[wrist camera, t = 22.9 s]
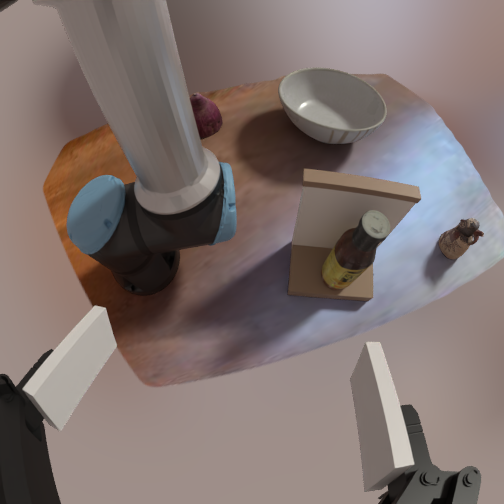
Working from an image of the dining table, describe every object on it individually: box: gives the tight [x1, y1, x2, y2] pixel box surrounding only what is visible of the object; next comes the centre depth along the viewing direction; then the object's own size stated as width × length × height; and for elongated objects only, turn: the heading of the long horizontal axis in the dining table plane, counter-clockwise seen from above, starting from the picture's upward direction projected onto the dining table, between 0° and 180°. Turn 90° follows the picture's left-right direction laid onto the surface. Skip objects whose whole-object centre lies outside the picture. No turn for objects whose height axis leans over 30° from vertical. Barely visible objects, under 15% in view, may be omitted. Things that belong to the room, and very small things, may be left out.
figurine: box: [439, 218, 484, 259], centre depth 48 cm, size 7×7×12 cm
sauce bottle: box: [321, 210, 390, 290], centre depth 40 cm, size 7×6×20 cm
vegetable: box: [190, 93, 222, 138], centre depth 63 cm, size 10×10×15 cm
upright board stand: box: [287, 168, 421, 301], centre depth 42 cm, size 17×11×23 cm, turn 83°
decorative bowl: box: [278, 68, 387, 144], centre depth 61 cm, size 27×27×12 cm
